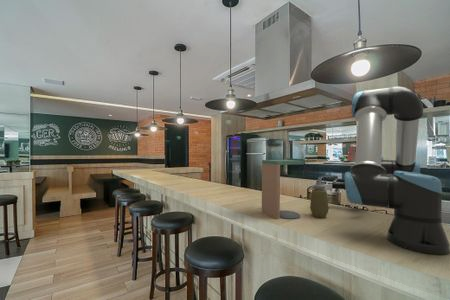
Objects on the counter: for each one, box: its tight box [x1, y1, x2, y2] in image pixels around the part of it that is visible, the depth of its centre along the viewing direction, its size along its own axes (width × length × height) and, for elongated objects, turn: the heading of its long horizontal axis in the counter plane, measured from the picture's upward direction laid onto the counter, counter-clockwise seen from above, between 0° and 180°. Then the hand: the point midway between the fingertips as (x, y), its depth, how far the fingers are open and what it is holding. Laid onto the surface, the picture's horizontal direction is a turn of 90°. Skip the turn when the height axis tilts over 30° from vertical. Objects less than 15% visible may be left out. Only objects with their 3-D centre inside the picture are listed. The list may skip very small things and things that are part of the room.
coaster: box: [280, 209, 301, 220], centre depth 102 cm, size 12×12×1 cm
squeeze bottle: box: [309, 176, 330, 219], centre depth 101 cm, size 8×8×18 cm
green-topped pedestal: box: [261, 157, 306, 220], centre depth 105 cm, size 12×16×26 cm
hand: (334, 189), depth 105 cm, fingers open, 13 cm apart
